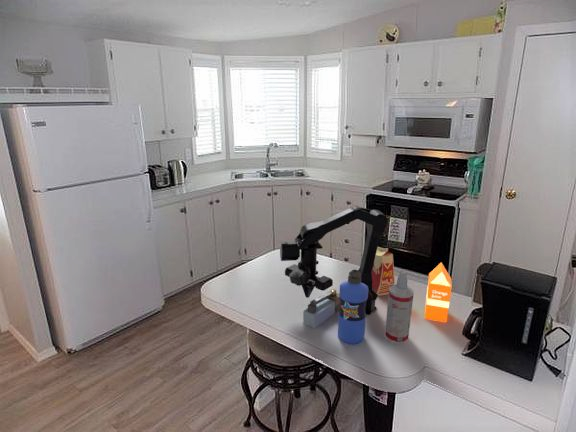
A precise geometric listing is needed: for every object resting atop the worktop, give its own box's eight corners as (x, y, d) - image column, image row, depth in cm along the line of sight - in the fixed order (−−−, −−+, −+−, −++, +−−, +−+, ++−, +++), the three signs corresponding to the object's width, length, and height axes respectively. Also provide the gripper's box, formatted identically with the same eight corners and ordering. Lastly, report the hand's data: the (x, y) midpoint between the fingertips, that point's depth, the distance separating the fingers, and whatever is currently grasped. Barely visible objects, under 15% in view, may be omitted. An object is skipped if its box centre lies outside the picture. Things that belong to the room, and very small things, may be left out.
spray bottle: (402, 329, 133) (409, 265, 125) (412, 342, 126) (420, 275, 118) (381, 331, 132) (387, 266, 124) (389, 344, 125) (396, 277, 117)
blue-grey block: (334, 313, 143) (335, 295, 141) (314, 328, 134) (314, 309, 131) (323, 308, 146) (324, 291, 144) (303, 323, 137) (303, 304, 134)
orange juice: (445, 310, 145) (452, 263, 139) (446, 322, 137) (454, 273, 131) (424, 306, 148) (430, 260, 142) (424, 318, 140) (430, 269, 134)
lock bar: (332, 292, 146) (332, 288, 146) (337, 294, 144) (337, 290, 144) (309, 304, 137) (309, 300, 137) (314, 306, 136) (314, 302, 135)
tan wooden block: (340, 308, 146) (341, 294, 144) (335, 312, 143) (335, 298, 141) (330, 304, 149) (330, 290, 147) (324, 308, 146) (324, 294, 145)
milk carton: (395, 292, 158) (400, 248, 152) (377, 296, 155) (381, 252, 149) (382, 283, 166) (386, 241, 160) (365, 286, 163) (368, 244, 157)
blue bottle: (360, 348, 123) (365, 279, 116) (333, 340, 127) (336, 273, 119) (367, 332, 131) (372, 267, 124) (341, 326, 135) (345, 262, 127)
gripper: (274, 258, 136) (274, 296, 141) (315, 274, 125) (313, 315, 129) (294, 249, 144) (294, 286, 149) (334, 264, 132) (332, 303, 137)
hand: (307, 297), depth 141 cm, fingers closed
